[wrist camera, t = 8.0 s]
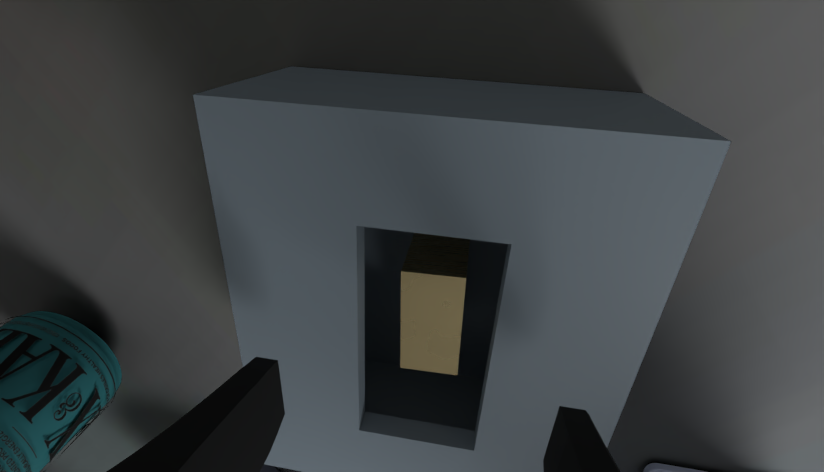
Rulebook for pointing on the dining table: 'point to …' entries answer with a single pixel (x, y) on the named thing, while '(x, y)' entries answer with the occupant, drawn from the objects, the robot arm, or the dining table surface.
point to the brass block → (433, 303)
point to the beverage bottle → (49, 386)
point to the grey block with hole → (451, 217)
